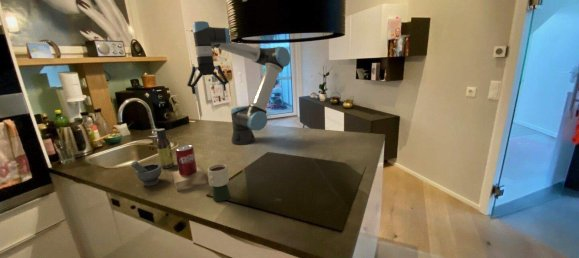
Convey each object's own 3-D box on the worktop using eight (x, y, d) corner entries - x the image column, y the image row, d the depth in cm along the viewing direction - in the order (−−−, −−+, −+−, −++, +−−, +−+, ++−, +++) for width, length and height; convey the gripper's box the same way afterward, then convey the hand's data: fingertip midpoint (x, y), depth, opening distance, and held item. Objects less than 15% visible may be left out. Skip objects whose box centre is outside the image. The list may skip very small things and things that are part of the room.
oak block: (200, 173, 114) (199, 165, 113) (206, 182, 104) (205, 174, 103) (173, 180, 108) (171, 172, 107) (177, 191, 98) (175, 182, 97)
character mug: (222, 189, 98) (217, 160, 94) (237, 192, 95) (233, 162, 92) (204, 204, 88) (199, 172, 84) (221, 207, 85) (216, 175, 82)
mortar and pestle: (155, 175, 113) (150, 152, 110) (168, 179, 109) (163, 155, 106) (131, 186, 104) (124, 161, 101) (143, 191, 100) (137, 165, 96)
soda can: (176, 174, 105) (171, 148, 102) (192, 168, 110) (188, 143, 107) (183, 178, 100) (179, 152, 97) (200, 172, 105) (196, 147, 102)
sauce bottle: (175, 166, 122) (168, 129, 117) (161, 170, 119) (153, 132, 114) (173, 162, 128) (166, 127, 122) (160, 166, 124) (152, 129, 119)
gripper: (178, 56, 108) (186, 102, 114) (231, 54, 121) (236, 96, 126) (176, 56, 114) (183, 100, 120) (226, 55, 127) (231, 95, 133)
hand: (210, 98), depth 123 cm, fingers open, 13 cm apart
